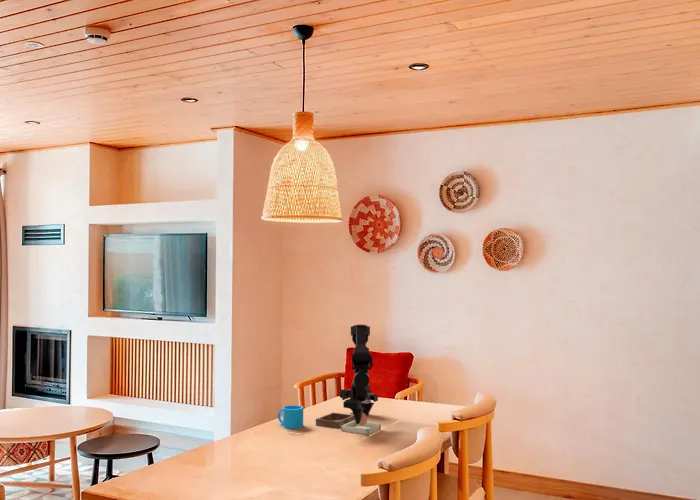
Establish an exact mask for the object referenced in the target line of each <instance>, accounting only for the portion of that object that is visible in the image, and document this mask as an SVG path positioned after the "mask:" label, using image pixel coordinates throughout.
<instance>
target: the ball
mask: <svg viewBox="0 0 700 500" xmlns="http://www.w3.org/2000/svg"><path fill="white" fill-rule="evenodd" d="M355 422H356V421H355ZM366 422H368V417H367V416H366V415H365V414H364V413H362V416H361V420H360V423H359V424H357V425H360V426H362V425H365V424H366Z"/></svg>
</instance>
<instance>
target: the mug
mask: <svg viewBox="0 0 700 500" xmlns="http://www.w3.org/2000/svg"><path fill="white" fill-rule="evenodd" d="M281 414H282V418H281ZM277 419H278V421H279V423H280V424H281V425H282V427H283V428H284V429H288V430H293V429H294V430H296V429H302V428H303V427H304V406H303V405H298V404H296V405H285V406H283V407H282V408H281V409H280V410H279V411H278V412H277Z"/></svg>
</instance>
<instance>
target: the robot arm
mask: <svg viewBox="0 0 700 500" xmlns="http://www.w3.org/2000/svg"><path fill="white" fill-rule="evenodd" d="M350 336H351V338H352V339H351V341H352V342H353V344H354V345H355V346H354V348H353V353H352V354H351V370H353V380H352V381H351V387H349V389H346V388H342V389H340V390H339V395H338V396H339V398H341V400H342V401H343V402H342V403H343V404H342V405H343V409H344V408H345V409H349V410H351V412H350V414H349V415H354V418H355V421H356V424H359V423H360V420H361V416H362V413H364V414H365V415H366V416H367V418H368V416H369V414H370V412H371V410H372V408H373V406H374V405H375V403H376V402H378V401H379V396H378V394H377V393H374V392H373V393H372V392H371V391H372V390H371V389H370V388H371V384H369V383H370V376H369V371H370V370H372V368H373V365H374V364H373V356H372V353H370V349H369V347H368V346H367V343H368V342H369V337H370V336H371V326H368V325H366V324H353V325H352V326H350ZM372 401H373V402H372Z"/></svg>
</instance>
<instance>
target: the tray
mask: <svg viewBox="0 0 700 500" xmlns="http://www.w3.org/2000/svg"><path fill="white" fill-rule="evenodd" d="M381 431H382V425H381V423H377V422H369V421H367V422H366V424H365V425H362V426H360V425H357V424H356V422H355V420H354V421H352V422H349V423H347V424H345V425H342V426H341V428H340V432H345V433H346V432H347V433H352V434H353V433H354V434H359V435H366V437H370V436H372V435H373V434H376V433H378V432H381Z"/></svg>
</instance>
